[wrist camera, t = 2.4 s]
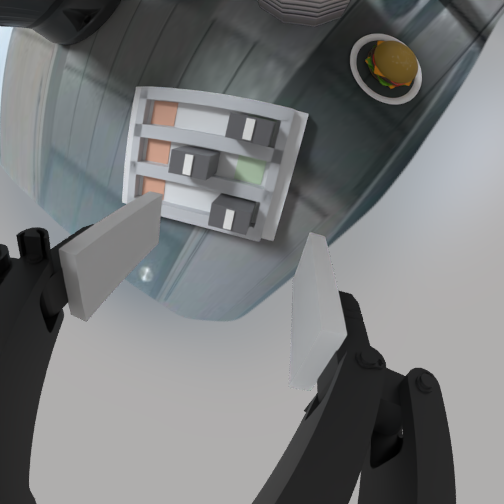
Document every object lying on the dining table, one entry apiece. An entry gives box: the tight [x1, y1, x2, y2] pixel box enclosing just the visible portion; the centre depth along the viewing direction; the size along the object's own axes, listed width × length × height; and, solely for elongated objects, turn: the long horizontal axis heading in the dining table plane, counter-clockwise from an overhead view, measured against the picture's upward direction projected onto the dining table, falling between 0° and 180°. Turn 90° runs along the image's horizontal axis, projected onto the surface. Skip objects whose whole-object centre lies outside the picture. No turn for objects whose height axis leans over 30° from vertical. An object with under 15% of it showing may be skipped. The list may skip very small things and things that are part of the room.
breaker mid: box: [168, 145, 220, 181], centre depth 27 cm, size 4×2×4 cm, turn 77°
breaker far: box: [208, 193, 256, 235], centre depth 29 cm, size 4×2×4 cm, turn 77°
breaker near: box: [225, 112, 276, 147], centre depth 24 cm, size 4×2×4 cm, turn 77°
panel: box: [122, 86, 309, 242], centre depth 29 cm, size 20×15×3 cm
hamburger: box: [350, 34, 422, 104], centre depth 20 cm, size 12×12×6 cm
